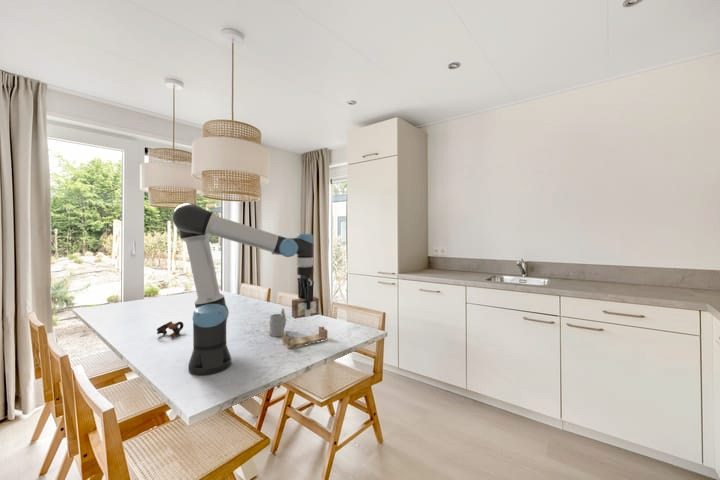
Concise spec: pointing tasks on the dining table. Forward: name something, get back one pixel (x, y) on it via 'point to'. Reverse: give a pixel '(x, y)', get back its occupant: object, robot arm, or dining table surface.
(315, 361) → the dining table surface
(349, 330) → the dining table surface
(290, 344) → the ledge
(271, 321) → the mug
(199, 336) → the robot arm
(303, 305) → the frame
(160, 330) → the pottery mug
